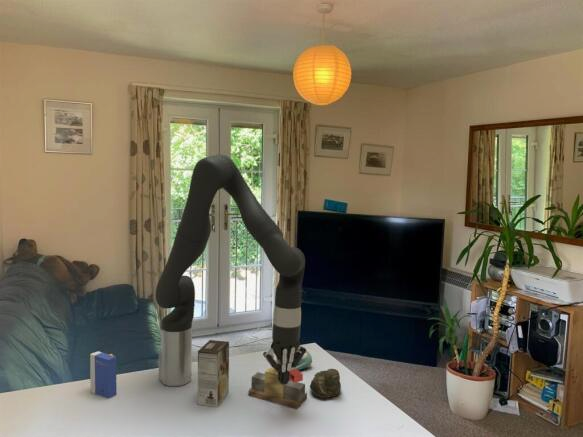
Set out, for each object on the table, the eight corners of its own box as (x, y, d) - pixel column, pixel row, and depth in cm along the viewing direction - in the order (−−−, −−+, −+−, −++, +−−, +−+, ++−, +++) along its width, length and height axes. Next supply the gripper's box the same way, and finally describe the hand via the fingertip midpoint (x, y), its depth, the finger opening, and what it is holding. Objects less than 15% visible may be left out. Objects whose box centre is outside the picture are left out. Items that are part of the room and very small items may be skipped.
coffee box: (209, 389, 136) (209, 338, 134) (229, 392, 134) (230, 341, 133) (196, 405, 127) (197, 350, 125) (218, 408, 125) (218, 353, 124)
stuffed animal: (278, 344, 159) (311, 340, 158) (281, 363, 160) (314, 360, 158) (273, 356, 149) (308, 352, 147) (276, 377, 149) (312, 373, 148)
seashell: (315, 387, 127) (349, 384, 129) (307, 351, 136) (339, 349, 138) (310, 407, 134) (342, 404, 136) (303, 372, 143) (333, 370, 145)
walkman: (116, 394, 131) (116, 355, 130) (108, 398, 129) (108, 358, 127) (98, 388, 135) (97, 349, 133) (90, 391, 132) (89, 352, 131)
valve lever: (273, 369, 132) (273, 359, 131) (281, 367, 133) (281, 357, 133) (293, 387, 121) (294, 376, 121) (302, 385, 123) (302, 374, 122)
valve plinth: (248, 395, 133) (248, 368, 132) (259, 385, 139) (260, 360, 138) (297, 408, 126) (298, 380, 125) (306, 398, 132) (307, 371, 132)
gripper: (272, 329, 114) (268, 394, 115) (314, 322, 121) (311, 384, 122) (258, 320, 120) (255, 382, 122) (299, 314, 127) (296, 373, 129)
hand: (283, 383), depth 122 cm, fingers closed
